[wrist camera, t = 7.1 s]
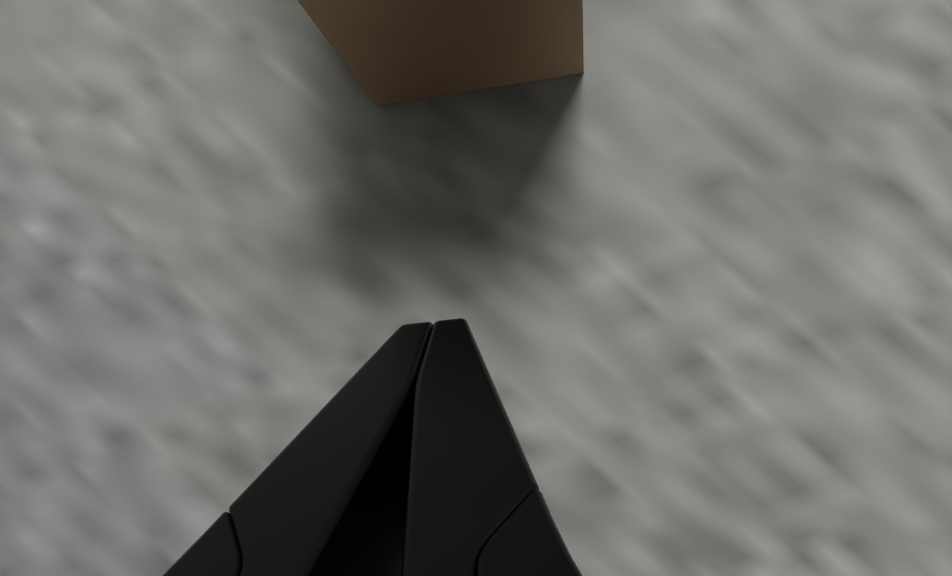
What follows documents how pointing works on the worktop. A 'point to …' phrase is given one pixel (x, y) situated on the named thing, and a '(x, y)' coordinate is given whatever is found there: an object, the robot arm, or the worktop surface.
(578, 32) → the walnut block
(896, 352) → the worktop surface
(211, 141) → the worktop surface
